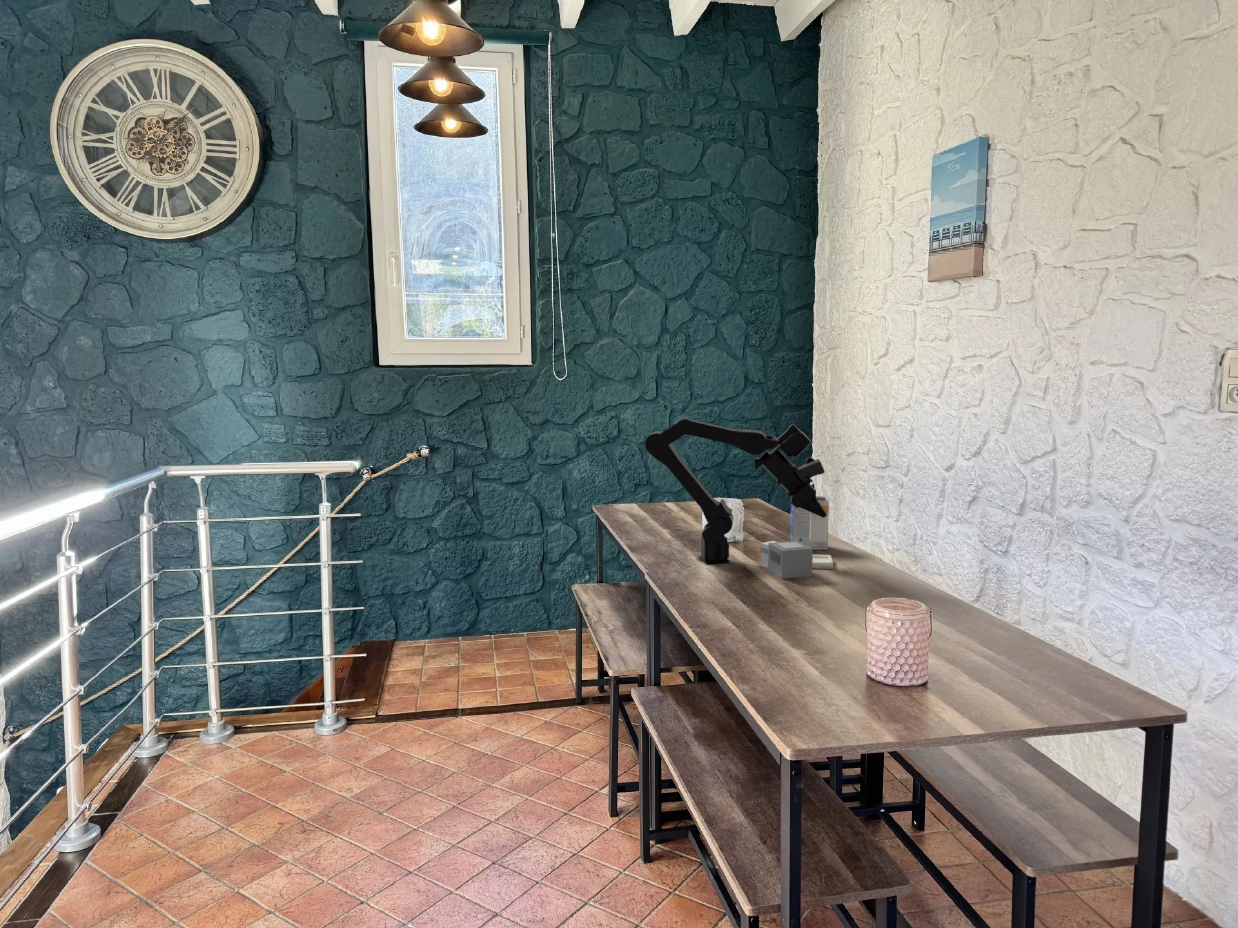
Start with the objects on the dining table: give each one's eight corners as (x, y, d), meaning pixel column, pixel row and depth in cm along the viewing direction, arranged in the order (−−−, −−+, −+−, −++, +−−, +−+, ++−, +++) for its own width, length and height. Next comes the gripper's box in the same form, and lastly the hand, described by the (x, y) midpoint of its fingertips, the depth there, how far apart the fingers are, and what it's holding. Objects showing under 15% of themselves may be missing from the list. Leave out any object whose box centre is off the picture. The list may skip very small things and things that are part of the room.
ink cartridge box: (824, 545, 229) (825, 494, 227) (828, 550, 224) (830, 498, 222) (789, 545, 230) (790, 494, 227) (792, 550, 224) (793, 498, 222)
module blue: (772, 569, 205) (772, 546, 205) (760, 565, 209) (760, 543, 208) (784, 566, 208) (785, 544, 207) (772, 563, 211) (773, 540, 210)
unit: (780, 578, 197) (781, 550, 196) (767, 570, 205) (768, 542, 204) (812, 576, 199) (813, 547, 198) (798, 567, 207) (798, 540, 206)
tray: (800, 567, 207) (800, 561, 207) (798, 559, 215) (798, 553, 214) (833, 568, 205) (833, 563, 205) (830, 560, 213) (830, 554, 213)
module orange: (809, 541, 207) (811, 498, 205) (809, 537, 211) (811, 495, 209) (827, 542, 206) (829, 499, 204) (826, 538, 210) (828, 496, 208)
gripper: (807, 453, 196) (852, 500, 196) (804, 444, 215) (845, 487, 214) (773, 484, 199) (817, 530, 199) (773, 472, 217) (813, 514, 217)
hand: (824, 514), depth 207 cm, fingers closed on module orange, 4 cm apart
